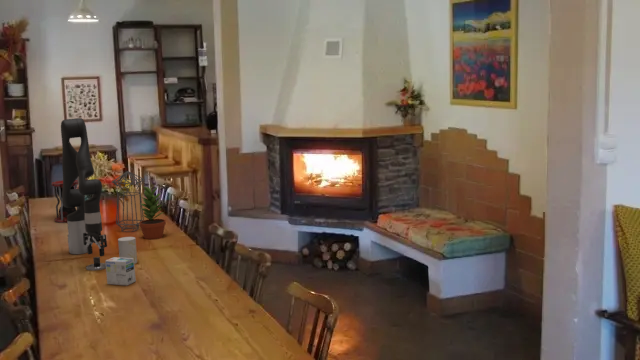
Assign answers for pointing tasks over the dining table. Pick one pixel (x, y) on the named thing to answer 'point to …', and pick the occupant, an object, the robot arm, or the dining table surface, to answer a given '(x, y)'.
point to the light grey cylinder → (127, 248)
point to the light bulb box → (120, 271)
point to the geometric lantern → (131, 198)
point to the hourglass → (63, 210)
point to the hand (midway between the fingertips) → (96, 255)
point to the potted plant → (151, 216)
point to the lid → (96, 265)
